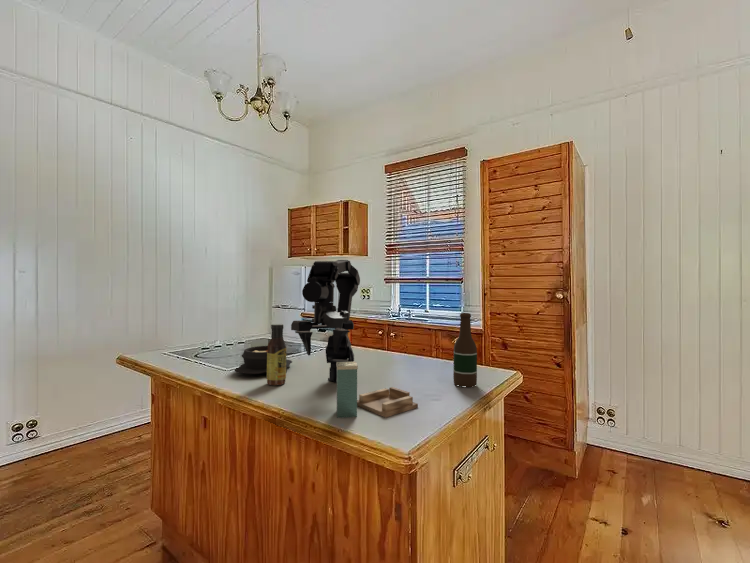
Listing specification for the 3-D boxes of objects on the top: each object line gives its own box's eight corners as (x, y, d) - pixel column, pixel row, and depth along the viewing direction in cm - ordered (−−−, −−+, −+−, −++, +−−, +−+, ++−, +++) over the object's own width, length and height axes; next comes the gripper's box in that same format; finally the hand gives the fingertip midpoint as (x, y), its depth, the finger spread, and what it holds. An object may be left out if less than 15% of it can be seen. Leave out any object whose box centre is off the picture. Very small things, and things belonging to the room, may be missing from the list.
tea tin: (336, 410, 101) (336, 362, 101) (355, 410, 102) (355, 361, 102) (336, 417, 96) (337, 366, 96) (357, 417, 97) (357, 366, 97)
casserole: (264, 381, 131) (264, 356, 131) (221, 375, 137) (221, 352, 137) (303, 366, 154) (303, 345, 154) (265, 362, 161) (265, 342, 161)
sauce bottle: (280, 387, 123) (281, 325, 123) (263, 385, 125) (263, 325, 125) (289, 381, 130) (289, 323, 130) (272, 380, 131) (272, 323, 131)
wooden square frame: (385, 396, 114) (386, 384, 114) (417, 407, 104) (417, 394, 104) (354, 404, 106) (354, 392, 106) (385, 417, 97) (385, 403, 97)
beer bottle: (478, 383, 129) (479, 312, 129) (474, 389, 122) (475, 314, 122) (456, 380, 133) (456, 311, 133) (450, 386, 126) (451, 313, 126)
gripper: (308, 302, 103) (307, 360, 103) (364, 303, 115) (363, 355, 114) (291, 301, 112) (289, 355, 111) (344, 302, 123) (343, 351, 123)
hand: (322, 354), depth 115 cm, fingers open, 9 cm apart
